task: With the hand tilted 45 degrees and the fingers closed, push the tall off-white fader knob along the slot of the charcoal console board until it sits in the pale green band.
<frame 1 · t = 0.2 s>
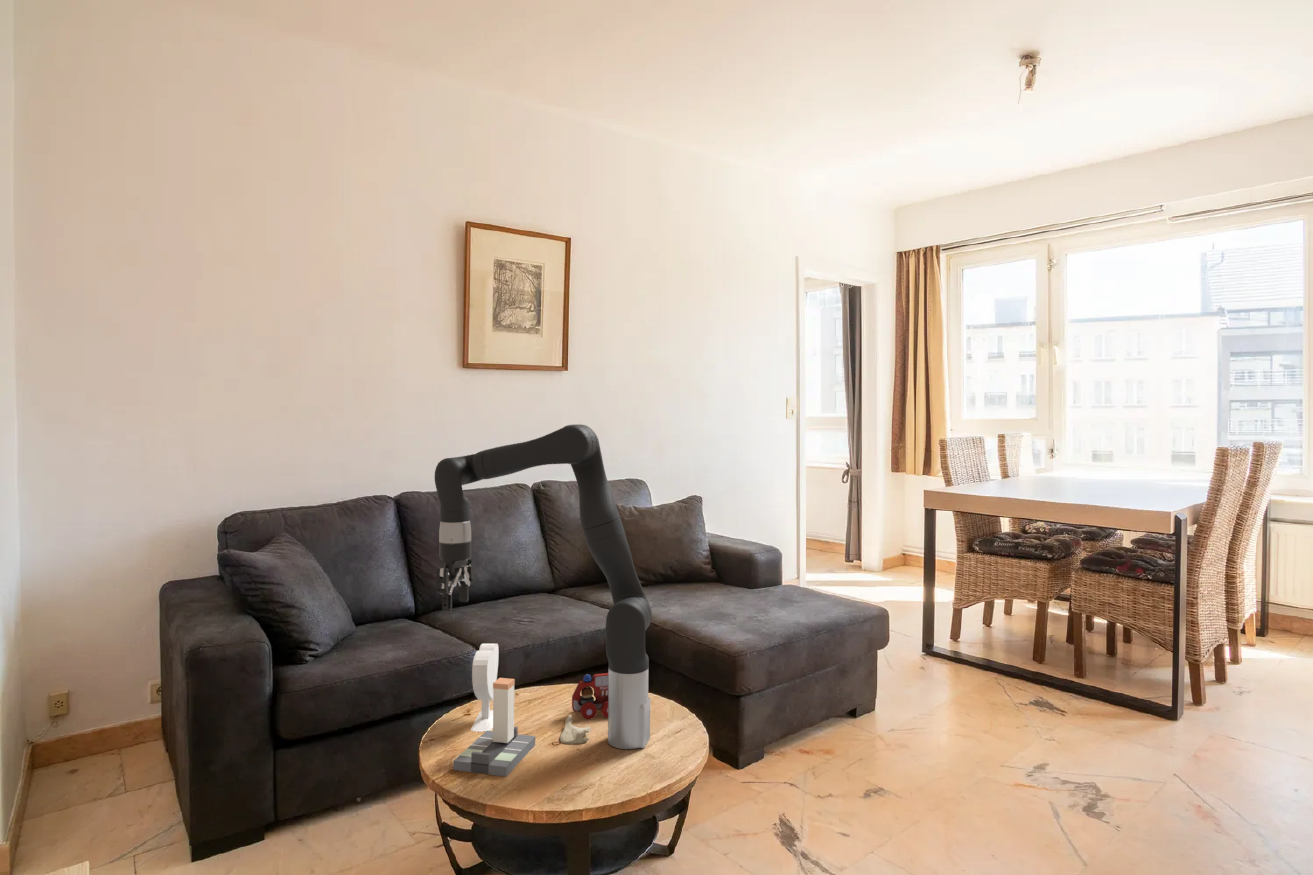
hand: (455, 605, 187), 29 cm above the table, tool pointing down, fingers open, 8 cm apart
fader: (503, 710, 173), point 9 cm above the table, slide at 0.0 cm
fossil: (576, 736, 182), on the table
heart sculpture: (485, 721, 189), on the table
toy fire truck: (596, 714, 195), on the table
console: (495, 756, 169), on the table
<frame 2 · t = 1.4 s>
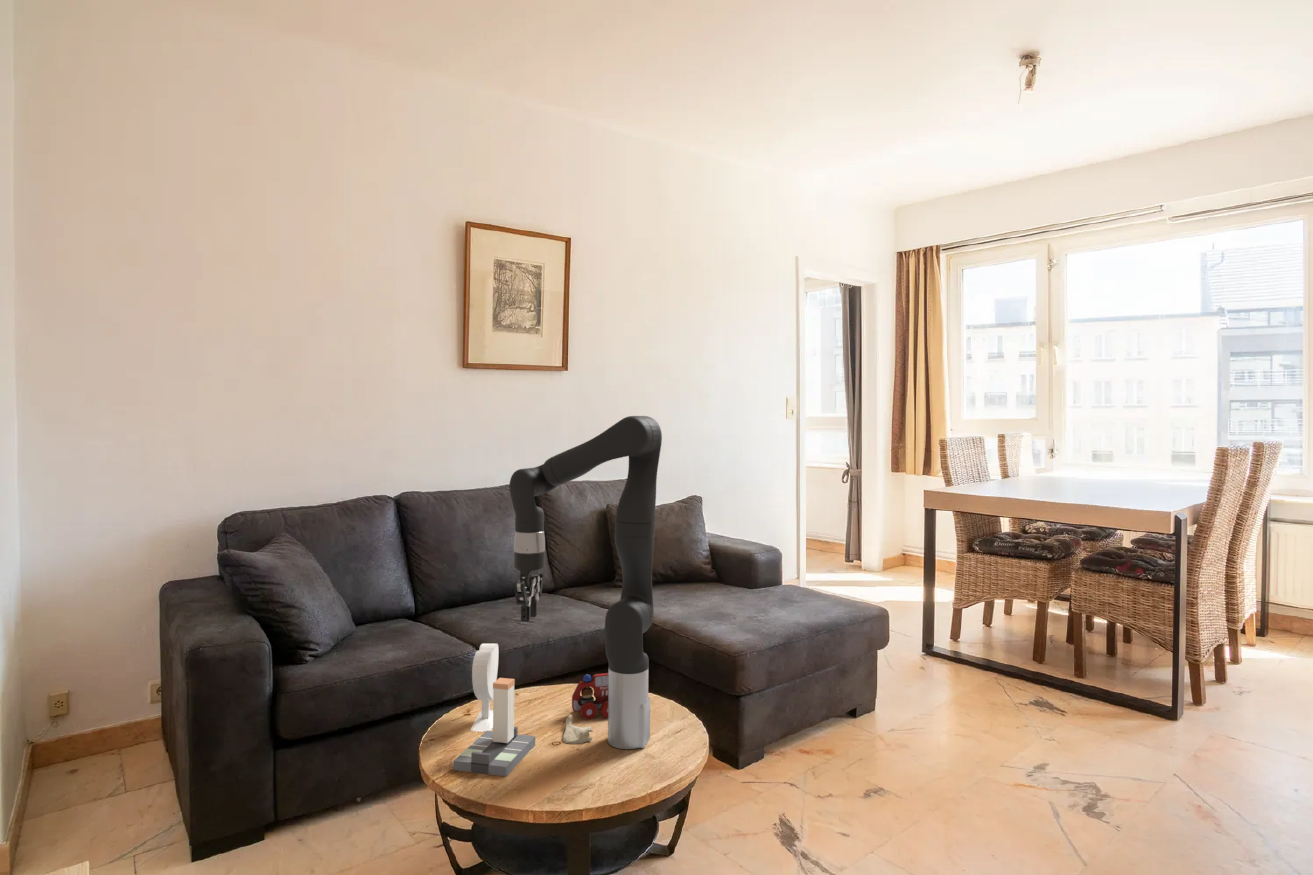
hand: (529, 618, 189), 25 cm above the table, tool pointing down, fingers open, 3 cm apart
nothing on the table moved.
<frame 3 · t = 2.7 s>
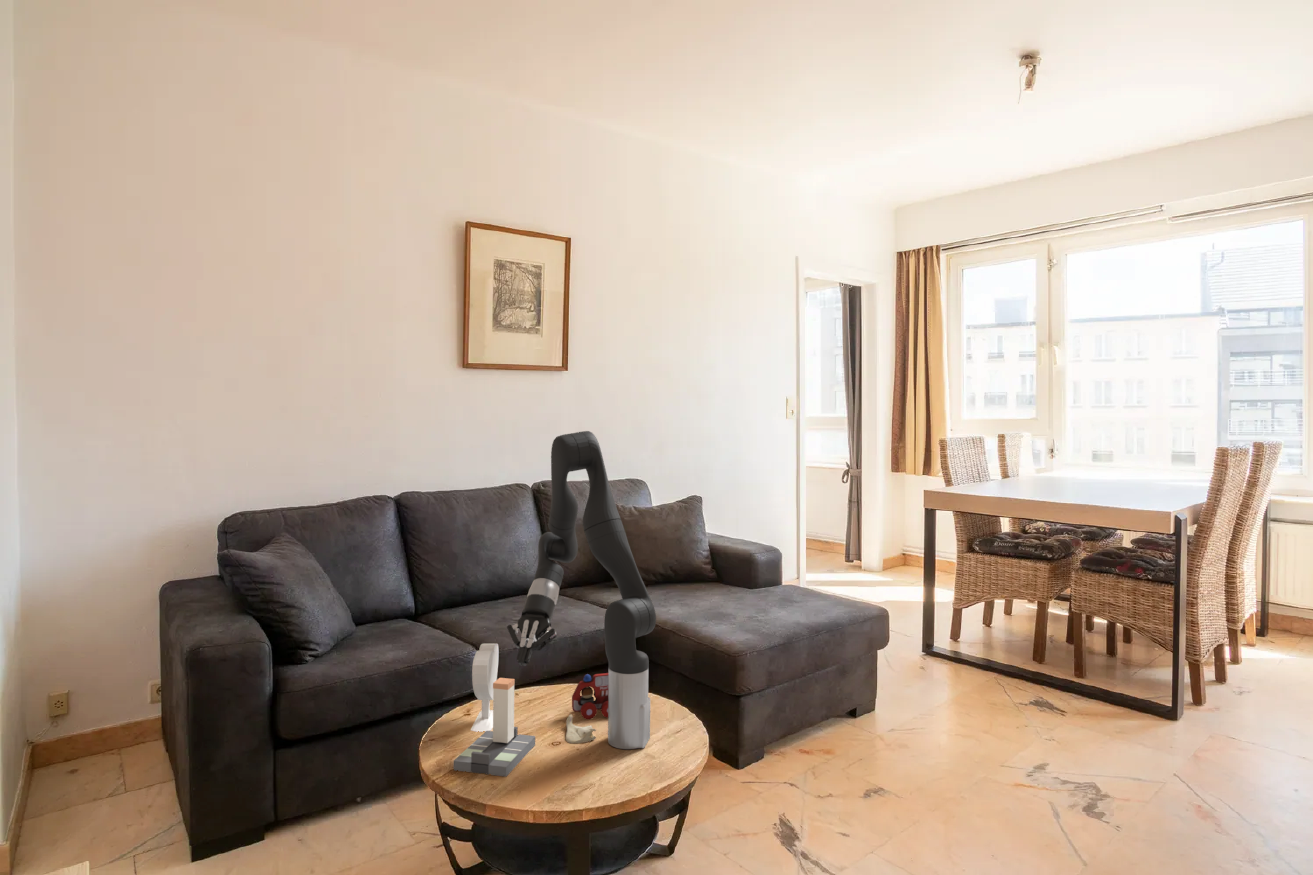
hand: (521, 664, 183), 16 cm above the table, tool tilted 45°, fingers closed
nothing on the table moved.
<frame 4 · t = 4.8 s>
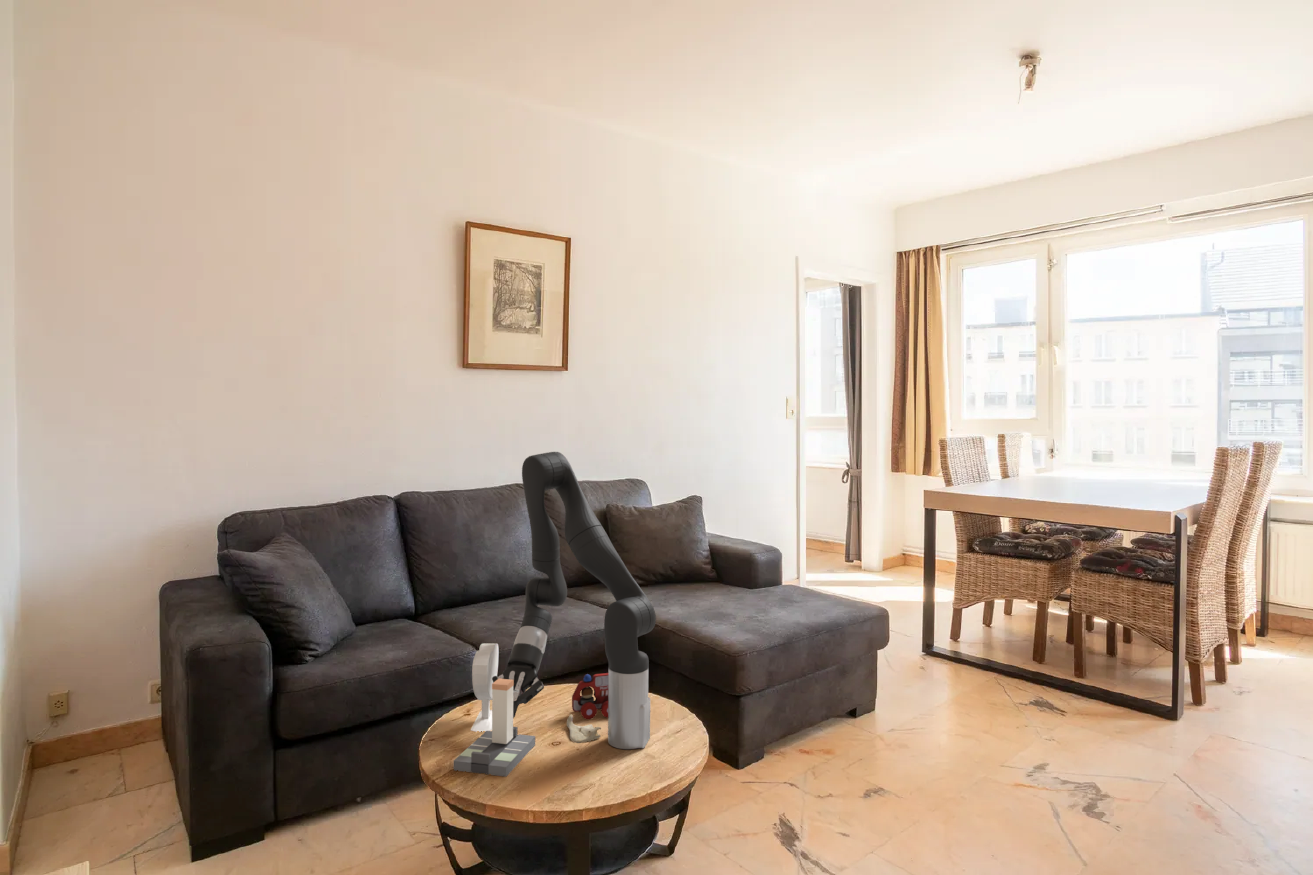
hand: (507, 718, 175), 6 cm above the table, tool tilted 45°, fingers closed
fader: (502, 710, 173), point 9 cm above the table, slide at 0.5 cm, touching gripper
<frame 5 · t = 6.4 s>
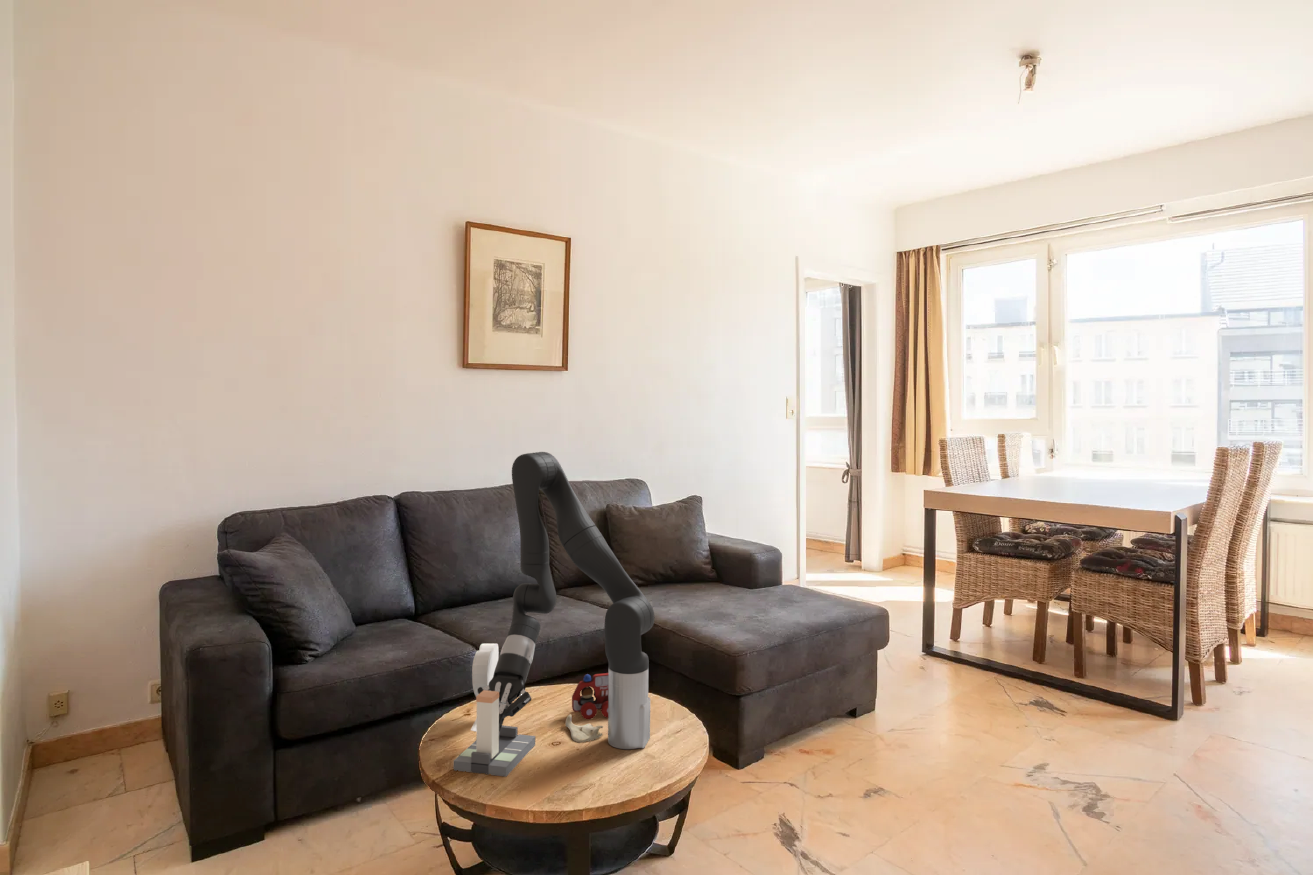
hand: (492, 732, 167), 6 cm above the table, tool tilted 45°, fingers closed
fader: (487, 724, 165), point 9 cm above the table, slide at 8.2 cm, touching gripper
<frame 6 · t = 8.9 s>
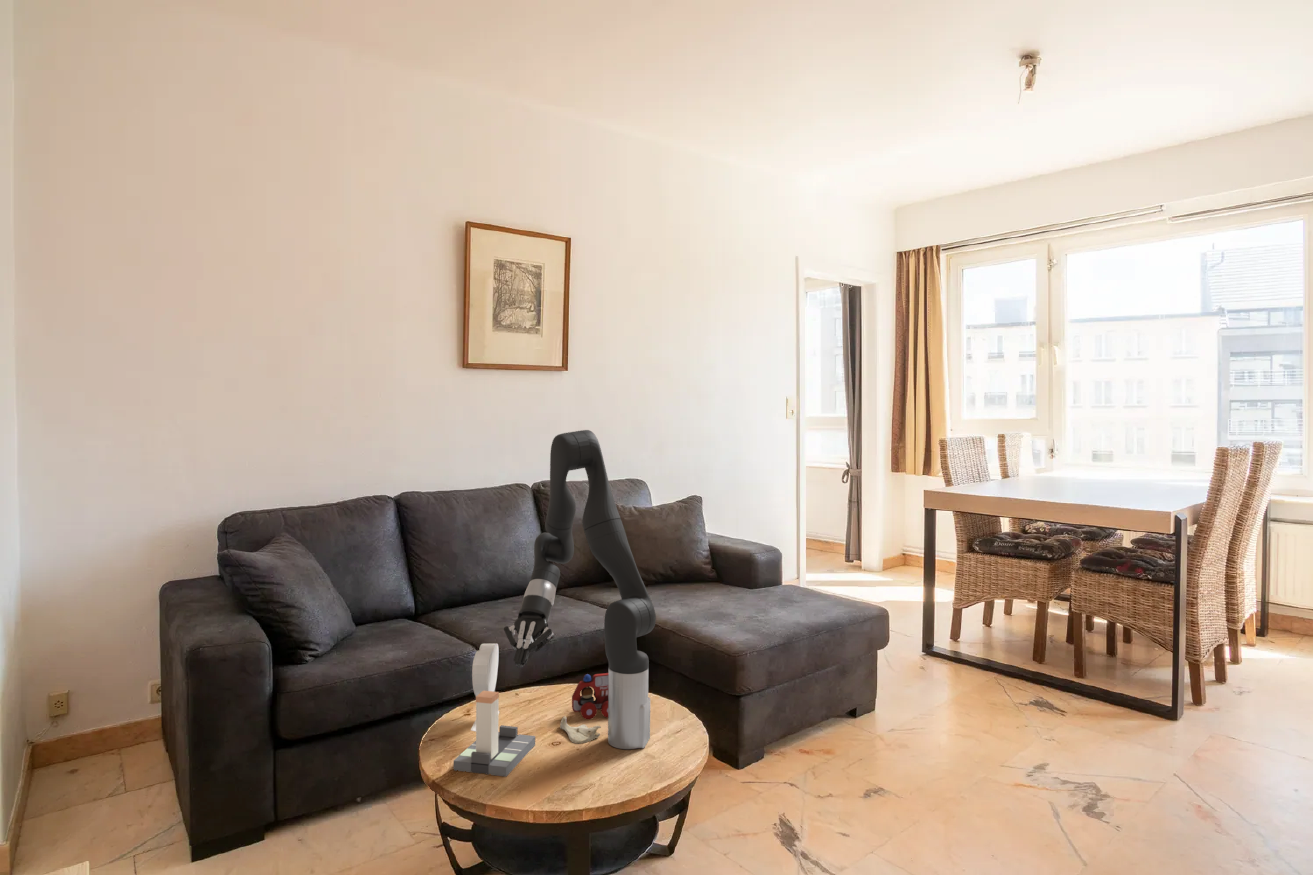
hand: (519, 665, 181), 16 cm above the table, tool tilted 45°, fingers closed
fader: (487, 724, 165), point 9 cm above the table, slide at 8.4 cm
fossil: (578, 735, 183), on the table
everything else where it was.
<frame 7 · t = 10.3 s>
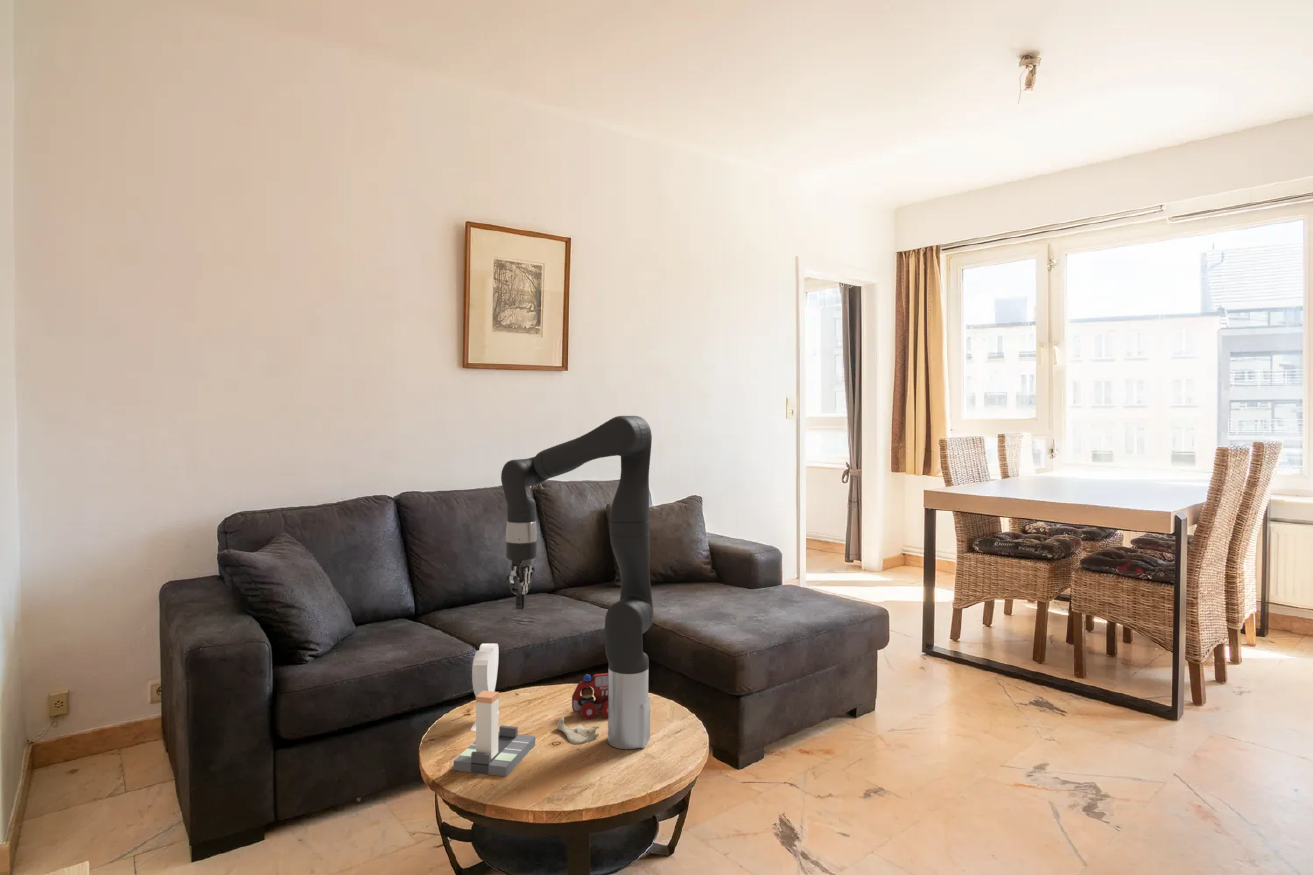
hand: (521, 608, 192), 27 cm above the table, tool pointing down, fingers closed
nothing on the table moved.
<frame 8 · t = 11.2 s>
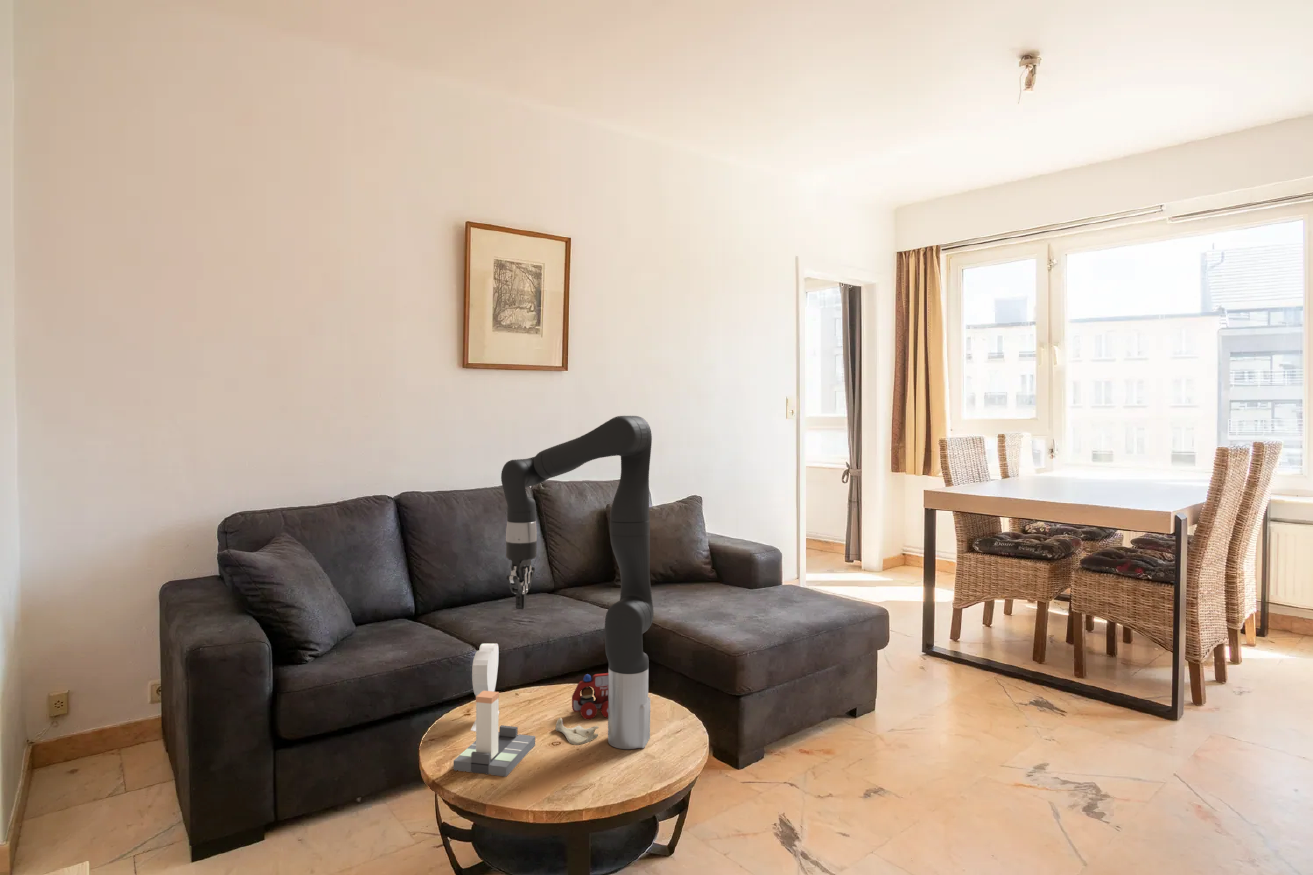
hand: (520, 608, 192), 27 cm above the table, tool pointing down, fingers closed
nothing on the table moved.
at the end: fader slide at 8.4 cm; fader 1.1 cm from the target spot, resting on console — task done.
